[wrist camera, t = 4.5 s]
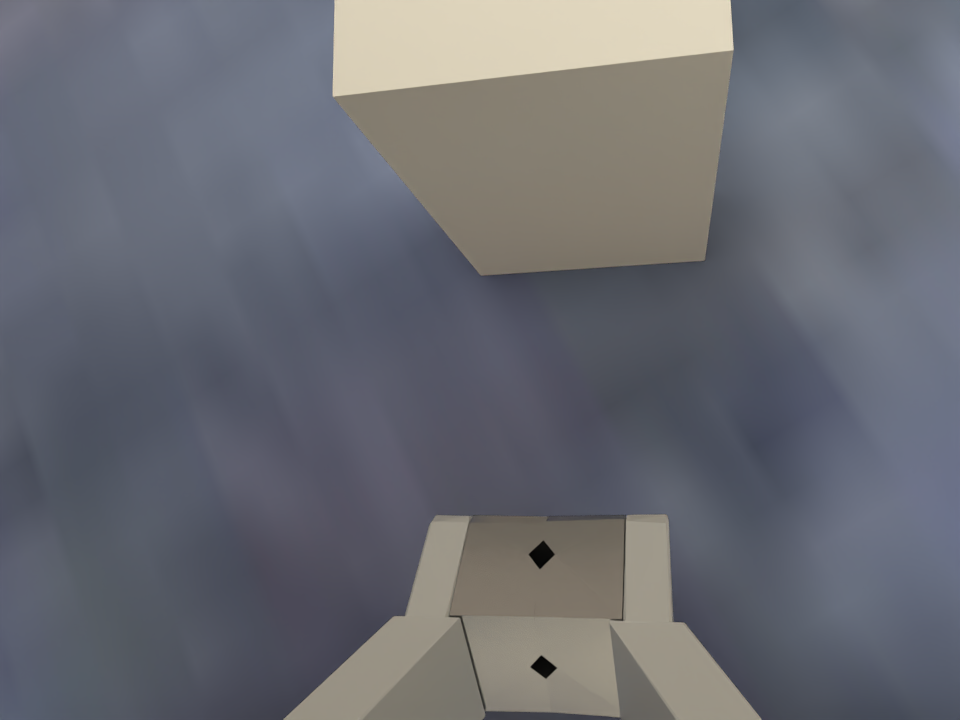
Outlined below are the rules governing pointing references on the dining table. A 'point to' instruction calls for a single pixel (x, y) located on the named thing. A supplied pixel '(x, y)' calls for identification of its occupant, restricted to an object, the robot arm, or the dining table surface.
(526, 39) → the domino
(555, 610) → the robot arm
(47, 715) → the dining table surface
